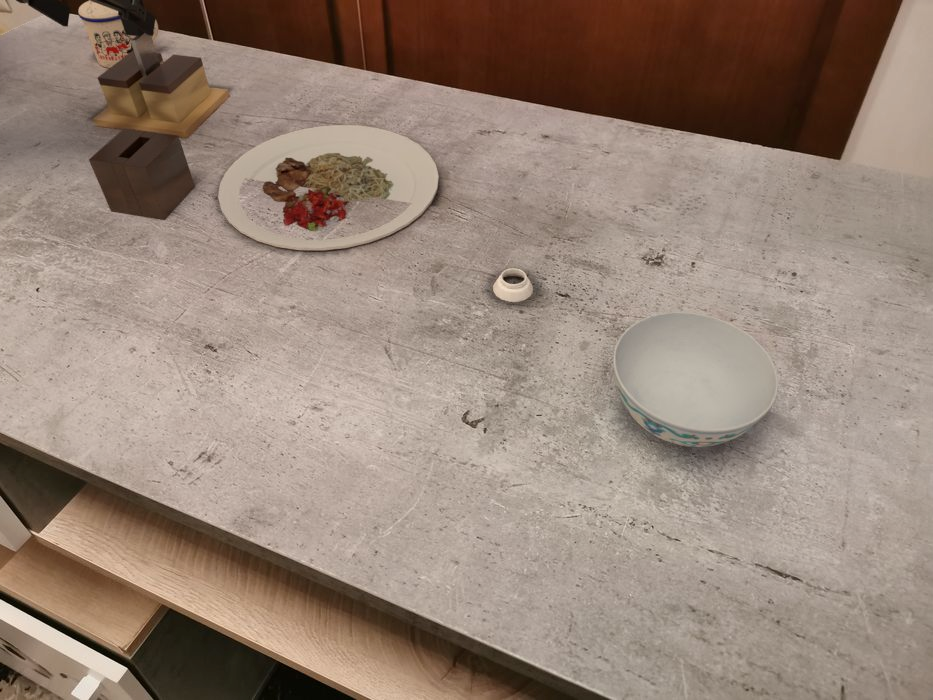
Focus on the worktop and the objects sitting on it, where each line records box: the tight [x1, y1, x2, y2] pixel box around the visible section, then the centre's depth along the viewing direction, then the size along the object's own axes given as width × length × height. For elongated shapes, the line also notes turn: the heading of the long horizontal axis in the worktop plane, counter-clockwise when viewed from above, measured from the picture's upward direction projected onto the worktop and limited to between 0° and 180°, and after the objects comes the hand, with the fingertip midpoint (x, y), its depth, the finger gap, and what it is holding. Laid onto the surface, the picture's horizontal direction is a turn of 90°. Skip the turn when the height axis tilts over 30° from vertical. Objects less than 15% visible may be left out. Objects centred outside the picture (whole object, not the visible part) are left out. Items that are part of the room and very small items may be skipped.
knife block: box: [88, 128, 196, 221], centre depth 96 cm, size 8×8×9 cm
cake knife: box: [120, 0, 160, 79], centre depth 110 cm, size 2×4×20 cm, turn 166°
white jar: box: [492, 267, 534, 303], centre depth 85 cm, size 5×3×5 cm
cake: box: [92, 50, 230, 139], centre depth 115 cm, size 16×14×7 cm
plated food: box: [217, 124, 439, 251], centre depth 100 cm, size 30×30×3 cm
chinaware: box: [612, 311, 779, 448], centre depth 71 cm, size 15×15×8 cm
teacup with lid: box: [77, 0, 159, 69], centre depth 127 cm, size 12×9×12 cm
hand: (109, 21), depth 103 cm, fingers open, 13 cm apart
